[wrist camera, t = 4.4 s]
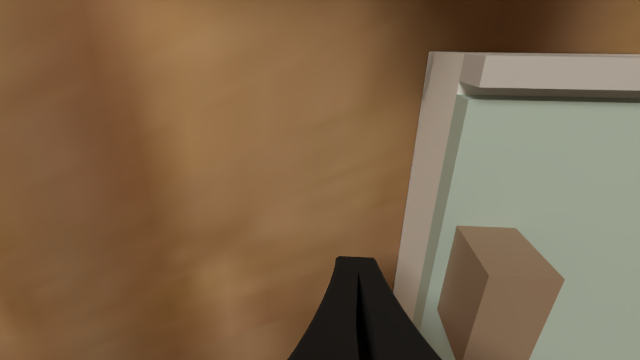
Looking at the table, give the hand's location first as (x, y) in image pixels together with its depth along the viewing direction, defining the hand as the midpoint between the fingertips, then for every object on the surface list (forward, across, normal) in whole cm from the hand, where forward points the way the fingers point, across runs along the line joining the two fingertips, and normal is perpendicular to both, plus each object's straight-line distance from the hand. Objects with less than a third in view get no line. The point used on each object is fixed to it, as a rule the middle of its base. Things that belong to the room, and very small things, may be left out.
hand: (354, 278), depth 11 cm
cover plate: (+2, -10, 0) cm, 10 cm away
